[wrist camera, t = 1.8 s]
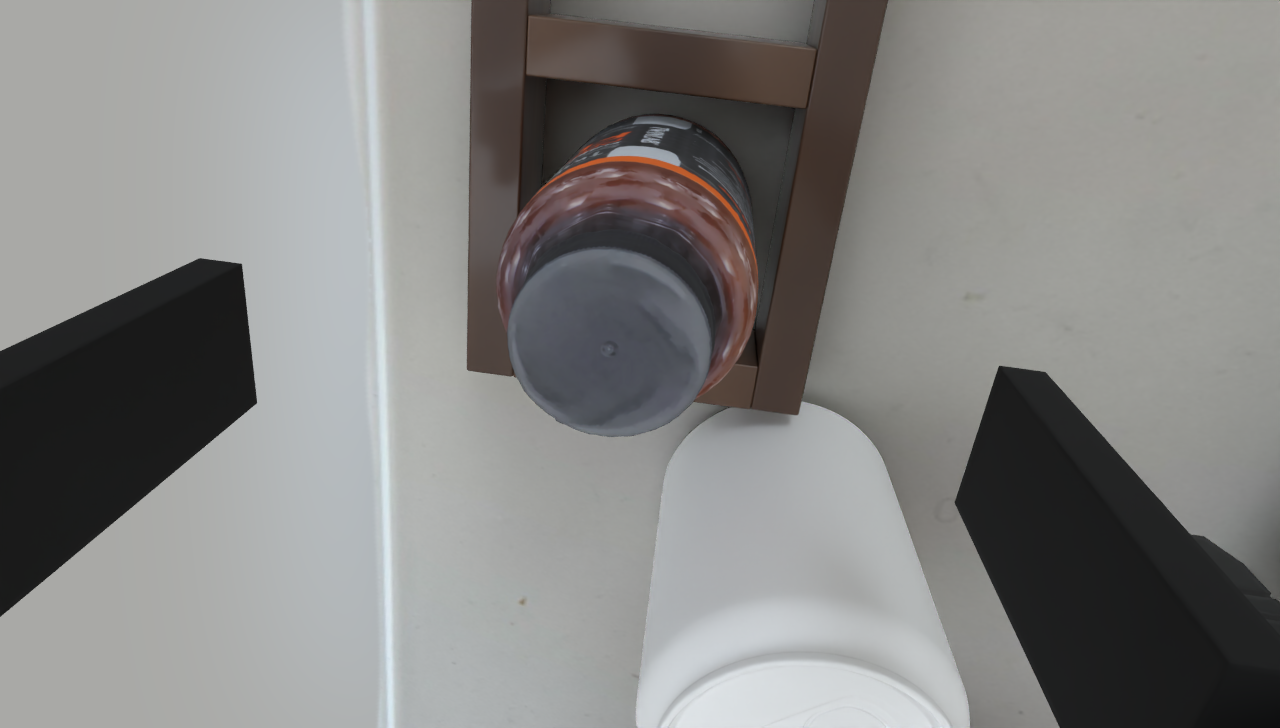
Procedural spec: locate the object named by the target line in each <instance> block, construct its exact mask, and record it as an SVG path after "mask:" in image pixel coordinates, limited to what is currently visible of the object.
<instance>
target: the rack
mask: <svg viewBox="0 0 1280 728" xmlns="http://www.w3.org/2000/svg"><path fill="white" fill-rule="evenodd" d="M550 3H551V0H472V6H471V85H470V163H469V242H468V320H467V370H469V371H475V372H482V373H490V374H497V375H504V376H514V377H516V375H515V372H514V370H513V367H512V364H511V361H510V357H509V350H508V340H507V332H506V330H505V328H504V325H503V322H502V317H501V315H500V312H499V308H498V299H497V293H496V287H497V285H496V277H497V270H498V263H499V258H500V255H501V251H502V248H503V244H504V242H505V239H506V237H507V234H508V231H509V230H510V228H511V226H512V225H513V223H514V222H515V220H516V219H517V217H518V215H519V213H520V212H521V210H522V209H523V208H524V207H525V206H526V205H527V203H528V202H529V201H530V200H531V199H532V197H533V196H534V195H535V194H536V192H537V191H538V190H539V189H540V188H541V178H542V159H543V139H544V120H545V100H546V81H547V78H550V79H559V80H567V81H575V82H583V83H592V84H600V85H608V86H617V87H625V88H633V89H642V90H650V91H658V92H666V93H675V94H683V95H691V96H700V97H708V98H716V99H725V100H733V101H741V102H750V103H758V104H766V105H774V106H783V107H791V108H795V111H794V117H793V122H792V128H791V133H790V139H789V145H788V150H787V156H786V161H785V167H784V172H783V178H782V183H781V189H780V195H779V200H778V206H777V211H776V217H775V222H774V228H773V234H772V239H771V245H770V250H769V256H768V261H767V267H766V272H765V278H764V284H763V289H762V295H761V300H760V306H759V311H758V317H757V322H756V328H755V331H754V330H752V332H751V335H750V338H749V340H748V342H747V344H746V346H745V348H744V350H743V352H742V354H741V356H740V358H739V359H738V360H737V362H736V363H735V365H734V366H733V367H732V369H731V370H730V371H729V372H728V373H727V375H726V376H725V377H724V378H723V379H722V380H721V381H720V382H719V383H718V384H716V385H715V386H714V387H713V388H712V389H710V390H709V391H708V392H706V393H705V394H703V395H701V396H700V397H698V398H697V399H695V400H694V401H693V402H698V403H706V404H713V405H720V406H728V407H735V408H742V409H750V408H751V409H753V410H760V411H767V412H774V413H782V414H789V415H798V414H799V411H800V406H801V402H802V397H803V392H804V388H805V383H806V378H807V374H808V369H809V365H810V360H811V355H812V351H813V346H814V341H815V337H816V332H817V328H818V323H819V318H820V314H821V309H822V304H823V300H824V295H825V290H826V286H827V281H828V277H829V272H830V267H831V263H832V258H833V253H834V249H835V244H836V239H837V235H838V230H839V226H840V221H841V216H842V212H843V207H844V202H845V198H846V193H847V189H848V184H849V179H850V175H851V170H852V165H853V161H854V156H855V151H856V147H857V142H858V138H859V133H860V128H861V124H862V119H863V114H864V110H865V105H866V100H867V96H868V91H869V87H870V82H871V77H872V73H873V68H874V63H875V59H876V54H877V50H878V45H879V40H880V36H881V31H882V26H883V22H884V17H885V12H886V8H887V3H888V0H814V6H813V11H812V17H811V22H810V28H809V33H808V39H807V44H805V43H799V42H790V41H782V40H773V39H765V38H756V37H747V36H739V35H730V34H722V33H713V32H705V31H696V30H688V29H679V28H670V27H662V26H653V25H645V24H636V23H628V22H619V21H611V20H602V19H593V18H585V17H576V16H568V15H559V14H550ZM516 378H517V377H516Z"/></svg>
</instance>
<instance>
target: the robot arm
mask: <svg viewBox="0 0 1280 728" xmlns="http://www.w3.org/2000/svg"><path fill="white" fill-rule="evenodd" d="M256 403H257V398H256V389H255V381H254V371H253V361H252V352H251V343H250V334H249V326H248V316H247V307H246V297H245V288H244V280H243V271H242V264H238V263H231V262H224V261H216V260H208V259H201V258H200V259H197V260H195V261H193V262H191V263H189V264H186V265H184V266H182V267H180V268H178V269H176V270H174V271H172V272H169V273H167V274H165V275H163V276H161V277H159V278H156V279H155V280H152V281H150V282H148V283H146V284H144V285H141V286H139V287H137V288H135V289H133V290H131V291H129V292H126V293H124V294H122V295H120V296H118V297H116V298H114V299H111V300H109V301H107V302H105V303H103V304H101V305H99V306H96V307H94V308H92V309H90V310H88V311H86V312H84V313H81V314H79V315H77V316H75V317H73V318H71V319H68V320H66V321H64V322H62V323H60V324H58V325H56V326H54V327H51V328H49V329H47V330H45V331H43V332H41V333H38V334H37V335H34V336H32V337H30V338H28V339H26V340H24V341H21V342H19V343H17V344H15V345H13V346H11V347H9V348H6V349H4V350H2V351H0V617H1V616H2V615H3V614H4V613H5V612H6V611H8V610H9V609H10V608H11V607H13V606H14V605H15V604H16V603H17V602H18V601H20V600H21V599H22V598H23V597H25V596H26V595H27V594H28V593H29V592H31V591H32V590H33V589H34V588H35V587H37V586H38V585H39V584H40V583H41V582H43V581H44V580H45V579H46V578H47V577H49V576H50V575H51V574H52V573H53V572H55V571H56V570H57V569H58V568H59V567H61V566H62V565H63V564H64V563H65V562H67V561H68V560H69V559H70V558H71V557H73V556H74V555H75V554H76V553H77V552H79V551H80V550H81V549H82V548H83V547H85V546H86V545H87V544H88V543H89V542H91V541H92V540H93V539H94V538H95V537H97V536H98V535H99V534H100V533H101V532H103V531H104V530H105V529H106V528H107V527H109V526H110V525H111V524H112V523H113V522H115V521H116V520H117V519H118V518H119V517H121V516H122V515H123V514H124V513H125V512H127V511H128V510H129V509H130V508H132V507H133V506H134V505H135V504H136V503H137V502H139V501H140V500H141V499H142V498H143V497H145V496H146V495H147V494H148V493H149V492H151V491H152V490H153V489H154V488H156V487H157V486H158V485H159V484H160V483H161V482H163V481H164V480H165V479H166V478H168V477H169V476H170V475H171V474H172V473H174V472H175V471H176V470H177V469H178V468H180V467H181V466H182V465H183V464H184V463H186V462H187V461H188V460H189V459H190V458H191V457H193V456H194V455H195V454H196V453H198V452H199V451H200V450H201V449H202V448H204V447H205V446H206V445H207V444H208V443H210V442H211V441H212V440H213V439H214V438H216V436H218V435H219V434H220V433H221V432H223V431H224V430H225V429H226V428H228V427H229V426H230V425H231V424H232V423H234V422H235V421H236V420H237V419H238V418H240V417H241V416H242V415H243V414H244V413H246V412H247V411H248V410H249V409H250V408H251V407H253V406H254V405H255V404H256ZM955 505H956V507H957V509H958V511H959V513H960V515H961V517H962V520H963V522H964V524H965V526H966V528H967V530H968V532H969V535H970V537H971V539H972V541H973V543H974V545H975V547H976V549H977V552H978V554H979V556H980V558H981V560H982V562H983V564H984V567H985V569H986V571H987V573H988V575H989V577H990V579H991V581H992V584H993V586H994V588H995V590H996V592H997V594H998V596H999V599H1000V601H1001V603H1002V605H1003V607H1004V609H1005V611H1006V614H1007V616H1008V618H1009V620H1010V622H1011V624H1012V626H1013V628H1014V631H1015V633H1016V635H1017V637H1018V639H1019V641H1020V643H1021V646H1022V648H1023V650H1024V652H1025V654H1026V656H1027V658H1028V661H1029V663H1030V665H1031V667H1032V669H1033V671H1034V673H1035V675H1036V678H1037V680H1038V682H1039V684H1040V686H1041V688H1042V690H1043V693H1044V695H1045V697H1046V699H1047V701H1048V703H1049V705H1050V707H1051V710H1052V712H1053V714H1054V716H1055V718H1056V720H1057V722H1058V725H1059V727H1060V728H1280V602H1279V601H1278V600H1277V599H1273V598H1271V597H1270V594H1271V593H1270V592H1269V591H1268V590H1267V589H1266V587H1265V586H1264V585H1263V584H1262V583H1261V582H1260V581H1259V580H1258V579H1257V578H1256V577H1255V576H1254V575H1253V574H1252V573H1251V572H1250V570H1249V569H1248V568H1247V567H1246V566H1245V565H1244V564H1243V563H1241V562H1240V561H1238V560H1237V559H1236V558H1234V557H1233V556H1231V555H1230V554H1228V553H1227V552H1225V551H1224V550H1223V549H1221V548H1220V547H1218V546H1217V545H1215V544H1214V543H1212V542H1211V541H1209V540H1208V539H1207V538H1205V537H1203V536H1196V535H1190V534H1189V533H1188V531H1187V530H1186V529H1185V528H1184V527H1183V526H1182V525H1181V524H1180V522H1179V521H1178V520H1177V519H1176V518H1175V517H1174V516H1173V515H1172V513H1171V512H1170V511H1169V510H1168V509H1167V508H1166V507H1165V506H1164V504H1163V503H1162V502H1161V501H1160V500H1159V499H1158V498H1157V497H1156V496H1155V494H1154V493H1153V492H1152V491H1151V490H1150V489H1149V488H1148V487H1147V485H1146V484H1145V483H1144V482H1143V481H1142V480H1141V479H1140V478H1139V476H1138V475H1137V474H1136V473H1135V472H1134V471H1133V470H1132V469H1131V467H1130V466H1129V465H1128V464H1127V463H1126V462H1125V461H1124V460H1123V459H1122V457H1121V456H1120V455H1119V454H1118V453H1117V452H1116V451H1115V450H1114V448H1113V447H1112V446H1111V445H1110V444H1109V443H1108V442H1107V441H1106V439H1105V438H1104V437H1103V436H1102V435H1101V434H1100V433H1099V432H1098V430H1097V429H1096V428H1095V427H1094V426H1093V425H1092V424H1091V423H1090V421H1089V420H1088V419H1087V418H1086V417H1085V416H1084V415H1083V414H1082V413H1081V411H1080V410H1079V409H1078V408H1077V407H1076V406H1075V405H1074V404H1073V402H1072V401H1071V400H1070V399H1069V398H1068V397H1067V396H1066V395H1065V393H1064V392H1063V391H1062V390H1061V389H1060V388H1059V387H1058V386H1057V384H1056V383H1055V382H1054V381H1053V380H1052V379H1051V378H1050V377H1049V376H1048V374H1047V373H1046V372H1041V371H1034V370H1026V369H1019V368H1011V367H1004V366H999V368H998V371H997V374H996V377H995V380H994V383H993V386H992V389H991V392H990V395H989V398H988V401H987V405H986V408H985V411H984V414H983V417H982V420H981V423H980V426H979V429H978V432H977V435H976V438H975V441H974V445H973V448H972V451H971V454H970V457H969V460H968V463H967V466H966V469H965V472H964V475H963V478H962V482H961V485H960V488H959V491H958V494H957V497H956V500H955Z"/></svg>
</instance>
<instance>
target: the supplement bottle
mask: <svg viewBox="0 0 1280 728" xmlns="http://www.w3.org/2000/svg"><path fill="white" fill-rule="evenodd" d="M496 285H497V287H496V293H497V299H498V308H499V312H500V315H501V317H502V322H503V325H504V328H505V330H506V332H507V340H508V350H509V357H510V361H511V364H512V367H513V370H514V372H515V375H516V377H517V379H518V380H519V382H520V384H521V386H522V387H523V389H524V391H525V392H526V393H527V394H528V396H529V397H530V398H531V399H532V400H533V401H534V402H535V403H536V404H537V405H538V406H539V407H540V408H542V409H543V410H544V411H545V412H546V413H548V414H549V415H551V416H552V417H554V418H555V419H556V421H558V422H560V423H562V424H566V425H567V426H569V427H571V428H573V429H576V430H578V431H581V432H584V433H588V434H594V435H600V436H607V437H619V436H634V435H638V434H641V433H645V432H648V431H652V430H655V429H657V428H659V427H661V426H664V425H666V424H668V423H670V422H671V421H672V420H673V419H675V418H676V417H678V416H679V415H680V414H681V413H682V412H683V411H684V410H685V409H686V408H688V407H689V406H690V405H691V404H692V402H693V401H694V400H695V399H697V398H698V397H700V396H701V395H703V394H705V393H706V392H708V391H709V390H710V389H712V388H713V387H714V386H715V385H716V384H718V383H719V382H720V381H721V380H722V379H723V378H724V377H725V376H726V375H727V373H728V372H729V371H730V370H731V369H732V367H733V366H734V365H735V363H736V362H737V360H738V359H739V358H740V356H741V354H742V352H743V350H744V348H745V346H746V344H747V342H748V340H749V338H750V335H751V332H752V328H753V325H754V321H755V316H756V310H757V302H758V263H757V255H756V249H755V239H754V228H753V218H752V209H751V197H750V194H749V189H748V186H747V183H746V180H745V177H744V175H743V172H742V169H741V167H740V165H739V164H738V162H737V160H736V158H735V157H734V156H733V154H732V153H731V152H730V150H729V149H728V148H727V147H726V145H725V144H724V143H723V142H722V141H721V140H720V139H719V138H718V137H717V136H715V135H714V134H713V133H711V132H710V131H708V130H707V129H705V128H704V127H702V126H700V125H698V124H696V123H693V122H691V121H689V120H686V119H683V118H680V117H675V116H671V115H662V114H650V115H641V116H634V117H630V118H627V119H625V120H622V121H619V122H617V123H615V124H613V125H610V126H608V127H607V128H606V129H604V130H602V131H600V132H599V133H598V134H596V135H595V136H594V137H592V138H591V139H590V140H588V141H587V143H586V144H584V145H583V146H582V147H581V148H579V150H578V151H577V152H576V153H575V154H574V155H573V156H572V157H571V158H570V159H569V160H568V161H567V163H566V164H565V165H564V166H562V168H560V169H559V171H558V172H557V173H556V174H555V175H554V176H553V177H552V178H551V179H550V180H549V181H548V182H547V183H546V184H545V185H543V186H542V187H541V188H540V189H539V190H538V191H537V192H536V194H535V195H534V196H533V197H532V199H531V200H530V201H529V202H528V203H527V205H526V206H525V207H524V208H523V209H522V210H521V212H520V213H519V215H518V217H517V219H516V220H515V222H514V223H513V225H512V226H511V228H510V230H509V231H508V234H507V237H506V239H505V242H504V244H503V248H502V251H501V255H500V258H499V263H498V270H497V277H496Z"/></svg>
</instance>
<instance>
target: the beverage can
mask: <svg viewBox="0 0 1280 728" xmlns="http://www.w3.org/2000/svg"><path fill="white" fill-rule="evenodd" d="M636 724H637V728H970V713H969V705H968V699H967V695H966V692H965V689H964V686H963V683H962V680H961V677H960V674H959V671H958V668H957V666H956V663H955V660H954V657H953V654H952V652H951V649H950V646H949V643H948V640H947V637H946V635H945V632H944V629H943V626H942V623H941V621H940V618H939V615H938V612H937V609H936V607H935V604H934V601H933V598H932V595H931V592H930V590H929V587H928V584H927V581H926V578H925V576H924V573H923V570H922V567H921V564H920V562H919V559H918V556H917V553H916V550H915V547H914V545H913V542H912V539H911V536H910V533H909V531H908V528H907V525H906V522H905V519H904V517H903V514H902V511H901V508H900V505H899V503H898V500H897V497H896V494H895V491H894V488H893V486H892V483H891V480H890V477H889V474H888V472H887V469H886V466H885V464H884V461H883V459H882V457H881V455H880V453H879V452H878V450H877V448H876V447H875V446H874V444H873V443H872V442H871V440H870V439H869V438H868V437H867V436H866V435H865V434H864V433H863V432H862V431H861V430H860V429H859V428H858V427H857V426H855V425H854V424H853V423H851V422H850V421H849V420H847V419H846V418H844V417H842V416H840V415H839V414H837V413H835V412H833V411H831V410H828V409H826V408H823V407H820V406H817V405H814V404H810V403H806V402H801V406H800V411H799V414H798V415H789V414H782V413H774V412H767V411H760V410H753V409H751V408H750V409H742V408H735V407H731V408H728V409H726V410H723V411H721V412H719V413H717V414H715V415H713V416H712V417H710V418H708V419H707V420H705V421H704V422H702V423H701V424H700V425H698V426H697V427H696V428H695V429H694V430H693V431H691V432H690V433H689V434H688V435H687V436H686V438H685V439H684V440H683V441H682V442H681V444H680V445H679V446H678V448H677V449H676V451H675V452H674V454H673V456H672V458H671V460H670V462H669V464H668V467H667V470H666V473H665V477H664V482H663V489H662V497H661V505H660V513H659V521H658V529H657V537H656V545H655V553H654V561H653V570H652V578H651V586H650V594H649V602H648V610H647V618H646V626H645V634H644V643H643V651H642V659H641V667H640V675H639V683H638V691H637V700H636Z"/></svg>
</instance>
